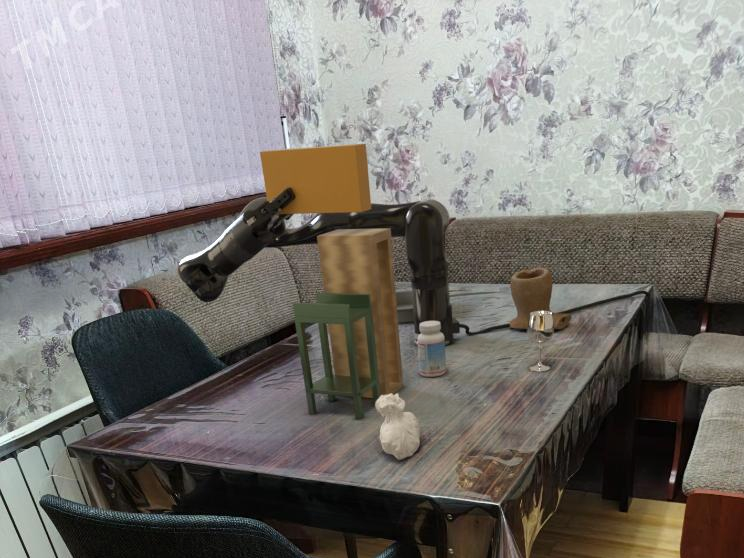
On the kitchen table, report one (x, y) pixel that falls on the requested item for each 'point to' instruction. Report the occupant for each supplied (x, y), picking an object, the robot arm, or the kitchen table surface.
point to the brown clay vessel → (533, 297)
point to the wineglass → (540, 333)
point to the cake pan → (404, 306)
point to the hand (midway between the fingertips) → (298, 190)
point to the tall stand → (375, 277)
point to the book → (319, 178)
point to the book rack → (329, 312)
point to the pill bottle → (431, 349)
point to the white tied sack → (397, 427)
